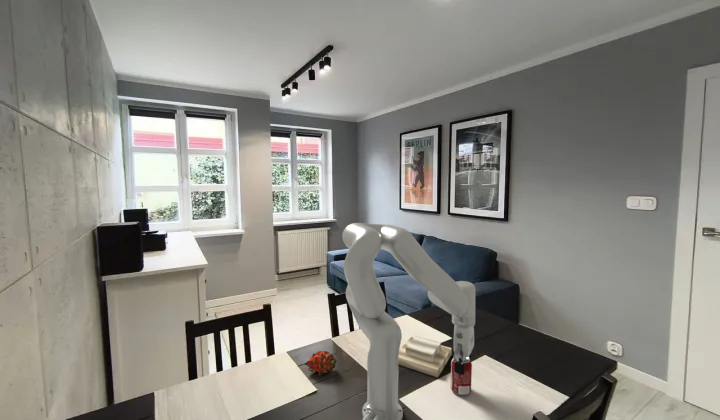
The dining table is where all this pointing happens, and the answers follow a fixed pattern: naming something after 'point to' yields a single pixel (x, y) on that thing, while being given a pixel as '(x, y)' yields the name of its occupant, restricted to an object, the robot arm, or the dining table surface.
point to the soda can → (461, 378)
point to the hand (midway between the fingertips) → (463, 365)
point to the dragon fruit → (321, 362)
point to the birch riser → (424, 355)
